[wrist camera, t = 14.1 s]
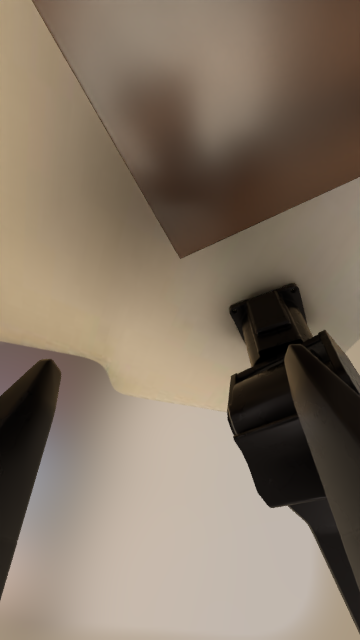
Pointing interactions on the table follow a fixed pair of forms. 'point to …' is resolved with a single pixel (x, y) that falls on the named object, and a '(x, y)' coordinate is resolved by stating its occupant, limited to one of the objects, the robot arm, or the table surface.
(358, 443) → the robot arm
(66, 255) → the table surface
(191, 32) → the shelf
